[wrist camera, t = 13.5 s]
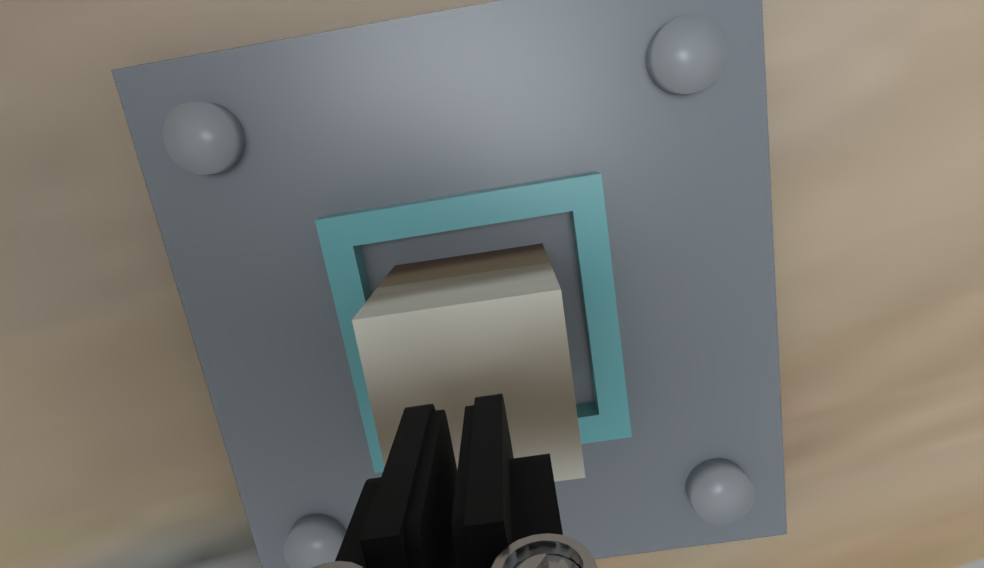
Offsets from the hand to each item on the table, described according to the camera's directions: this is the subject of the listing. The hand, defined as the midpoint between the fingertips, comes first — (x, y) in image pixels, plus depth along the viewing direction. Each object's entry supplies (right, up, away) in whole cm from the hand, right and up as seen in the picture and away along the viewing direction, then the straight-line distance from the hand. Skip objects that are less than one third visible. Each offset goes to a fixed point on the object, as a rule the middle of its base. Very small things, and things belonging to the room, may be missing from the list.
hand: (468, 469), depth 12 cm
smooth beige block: (0, +2, +9) cm, 9 cm away
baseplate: (0, +2, +10) cm, 10 cm away
